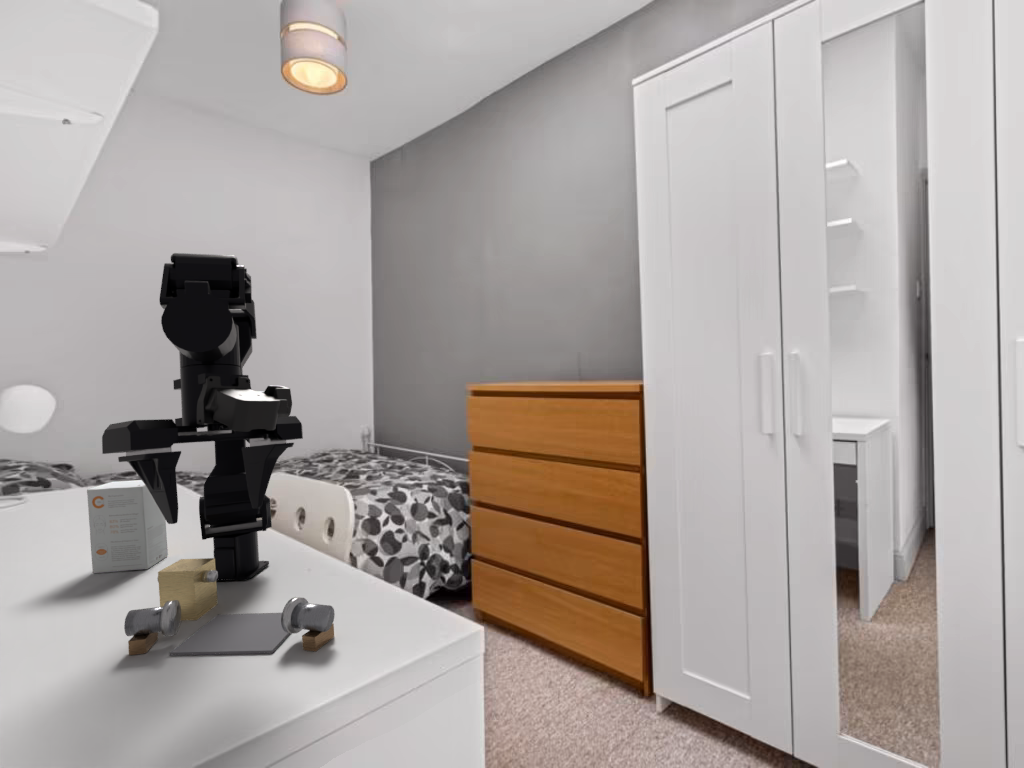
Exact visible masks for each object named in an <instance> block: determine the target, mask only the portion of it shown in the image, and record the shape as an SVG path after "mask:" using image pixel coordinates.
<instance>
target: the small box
mask: <svg viewBox="0 0 1024 768" xmlns="http://www.w3.org/2000/svg"><path fill="white" fill-rule="evenodd" d="M86 495H87V508H88V522H89V523H88V524H89V535H90V536H89V537H90V538H89V539H90V552H91V553H90V555H91V562H92V563H91V566H92V567H91V568H92V573H93V574H101V573H113V572H127V571H128V572H129V571H137V570H139V571H140V570H148V569H150V568H152V567H153V566H155V565H156V564H157V563H159V562H160V561H162V560H164V559H166V558H167V557H168V555H169V552H168V551H169V549H168V538H167V524H166V523H167V521H166V520H165V518H164V516H163V514H162V513H161V511H160V509H159V507H158V506H157V504H156V502H155V500H154V499H153V497H152V495H151V493H150V492H149V490H148V488H147V487H146V485H145V484H144V482H143V481H142V480H141V479H137V480H134V479H133V480H122V481H121V480H120V481H119V480H118V481H109V482H106V483H104V484H100V485H98V486H94V487H91V488H87V490H86Z"/></svg>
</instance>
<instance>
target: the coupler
mask: <svg viewBox="0 0 1024 768" xmlns="http://www.w3.org/2000/svg"><path fill="white" fill-rule="evenodd" d="M217 578H218V572H217V570H216V568H215V558H214V557H211V558H209V557H207V558H181V559H179V560H177V561H175V562H174V563H172V564H170V565H168V566H167V567H166V566H165V568H163V569H160V570H159V571H157V583H158V593H159V607H163V606H164V604H165V603H166V602H167V601H173V600H178V601H179V603H180V606H181V621H197V620H199V619H200V618H202V617H203V616H204V615H205V614H207V613H208V612H209V611H211V610H212V609H214V608H215V607H216V606H217V605H218V590H217V589H218V588H217V581H218V580H217ZM216 580H217V581H216Z"/></svg>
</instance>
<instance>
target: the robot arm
mask: <svg viewBox="0 0 1024 768" xmlns="http://www.w3.org/2000/svg"><path fill="white" fill-rule="evenodd" d="M170 262H171V263H170ZM170 262H169V263H168V262H166V263H164V264H163V271H162V277H161V285H160V292H159V305H160V306H161V308H162V309H163V313H162V315H161V319H160V322H161V323H160V324H161V327H162V332H163V333H164V335H165V337H166V338H167V339H168V340H169V341H170V343H171V344H172V345H173V346H174V347H175V348H176V349H177V350H178V351H179V352H178V353H179V377H180V378H179V379H178V378H177V379H173V381H172V382H173V391H177V390H178V391H180V399H181V400H180V401H181V404H180V405H181V417H179V418H177V417H176V418H174V420H173V418H167V419H163V418H161V419H134V420H127V421H122V422H117V423H116V422H115V423H110V424H109V425H108V426H107V427H106V429H105V430H104V431H103V434H102V436H101V442H102V443H101V444H102V446H101V448H102V453H101V454H102V455H107V454H119V453H120V454H123V453H125V455H124V456H118V457H117V458H118V459H117V460H118V462H119V463H128V464H129V465H130V466H131V468H132V469H133V471H134V472H135V473H136V474H137V476H138V477H139V479H140V480H142V481H143V482H144V484H145V485H146V487H147V488H148V490H149V492H150V493H151V495H152V497H153V499H154V500H155V502H156V504H157V506H158V507H159V509H160V511H161V513H162V514H163V516H164V518H165V520H166V523H167V524H169V525H175V524H178V520H179V502H178V501H179V500H178V498H179V497H178V485H177V472H176V470H177V465H178V462H179V460H180V457H181V454H182V450H177V451H172V446H173V445H175V444H178V445H179V444H193V443H207V442H208V443H209V442H214V455H215V457H214V458H215V462H214V463H215V464H214V467H213V469H212V470H211V472H210V473H209V475H208V476H207V478H206V480H205V481H204V484H203V496H199V501H198V512H199V513H198V514H199V523H200V530H201V531H200V532H201V540H203V541H205V540H207V539H212V540H213V558H215V568H216V570H217V572H218V578H217V580H216V582H218V581H246V580H250V579H252V578H253V577H254V576H255V575H257V574H258V573H260V572H261V571H262V570H263V569H265V568H266V567H268V566H269V565H270V561H269V560H260V553H259V540H258V539H259V538H258V537H259V536H258V532H261V531H262V532H267V530H268V529H270V528H272V510H271V498H270V497H268V496H267V493H266V492H267V489H268V487H269V483H270V481H271V477H272V474H273V471H274V468H275V467H276V464H277V462H278V459H279V458H280V456H282V455H283V453H284V452H285V451H286V450H288V448H289V449H290V448H293V447H294V445H295V442H287V441H293V440H302V439H303V438H304V437H303V433H304V432H303V424H302V422H301V420H299V418H298V417H297V416H296V415H291V411H292V407H293V400H292V393H291V391H292V390H291V388H289V387H287V386H284V385H271V384H270V385H268V386H267V387H266V388H265V390H264V391H262V390H261V391H260V390H254V389H252V387H251V385H252V384H251V379H250V378H249V375H248V374H244V373H243V372H244V371H243V369H244V368H243V367H245V364H246V363H247V361H248V360H249V358H250V356H251V355H252V353H253V340H258V339H257V338H258V337H257V323H256V322H257V321H256V320H257V319H256V309H255V305H256V304H255V302H254V299H252V296H253V295H252V291H253V290H252V288H253V287H252V276H251V275H250V274H249V273H248V270H247V268H245V265H239V261H238V257H237V256H236V255H235V254H209V253H208V254H207V253H185V252H184V253H183V252H181V253H180V252H174V253H172V254H171V255H170ZM203 428H206V430H201V431H198V429H203ZM247 443H248V444H249V446H247Z"/></svg>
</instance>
